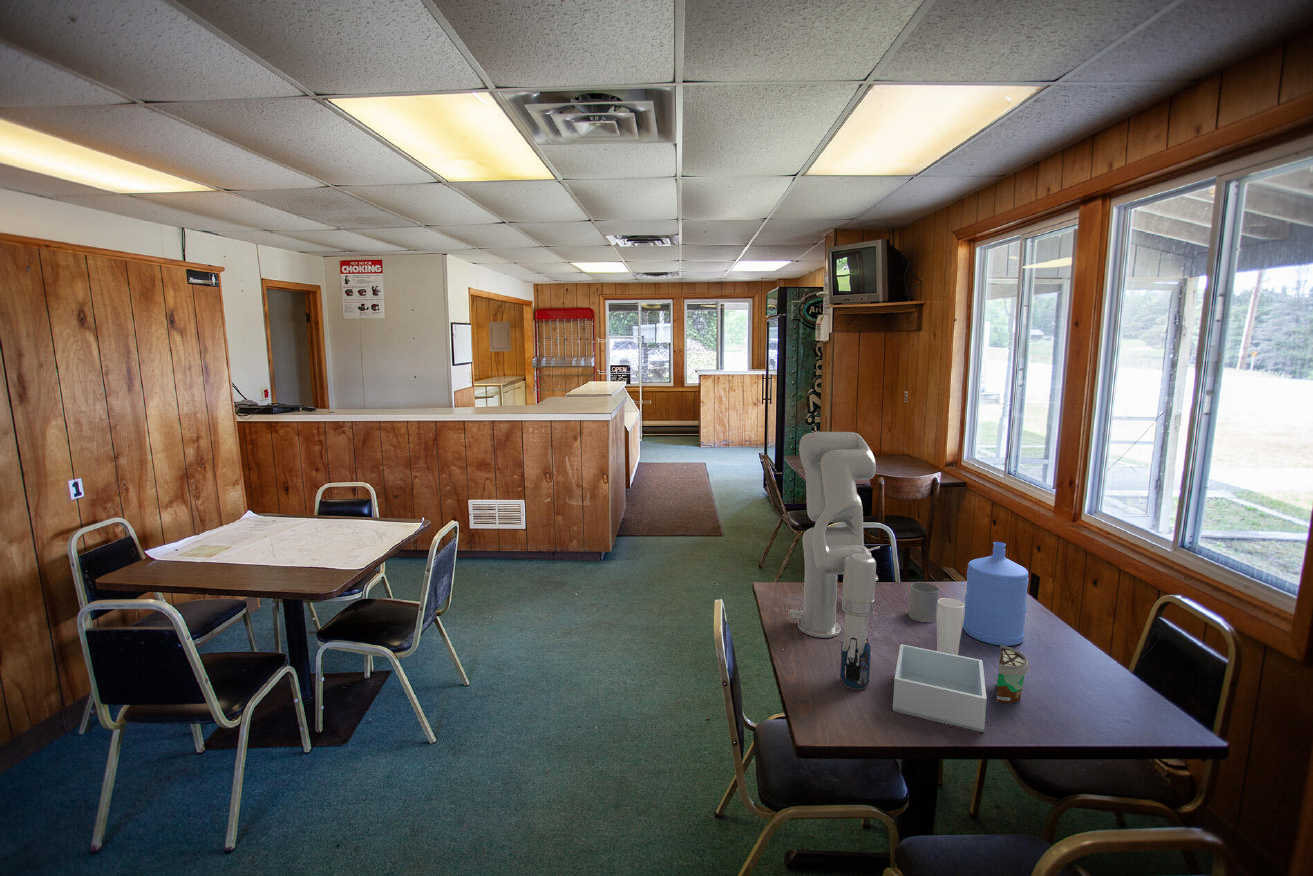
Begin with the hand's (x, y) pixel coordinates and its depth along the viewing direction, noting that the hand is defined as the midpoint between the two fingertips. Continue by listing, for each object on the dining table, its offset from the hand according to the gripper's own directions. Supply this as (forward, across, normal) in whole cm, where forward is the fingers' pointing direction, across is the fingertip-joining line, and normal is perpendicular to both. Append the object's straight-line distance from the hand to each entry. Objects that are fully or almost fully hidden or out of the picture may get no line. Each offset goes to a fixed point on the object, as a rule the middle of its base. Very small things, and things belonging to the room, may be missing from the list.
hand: (854, 671), depth 148 cm
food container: (+4, -11, +35) cm, 37 cm away
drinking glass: (+3, -27, +21) cm, 34 cm away
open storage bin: (+3, -1, +19) cm, 19 cm away
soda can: (+4, 0, 0) cm, 4 cm away
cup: (+4, -50, +14) cm, 52 cm away
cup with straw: (+3, -51, -4) cm, 51 cm away
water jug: (+4, -46, +33) cm, 57 cm away
